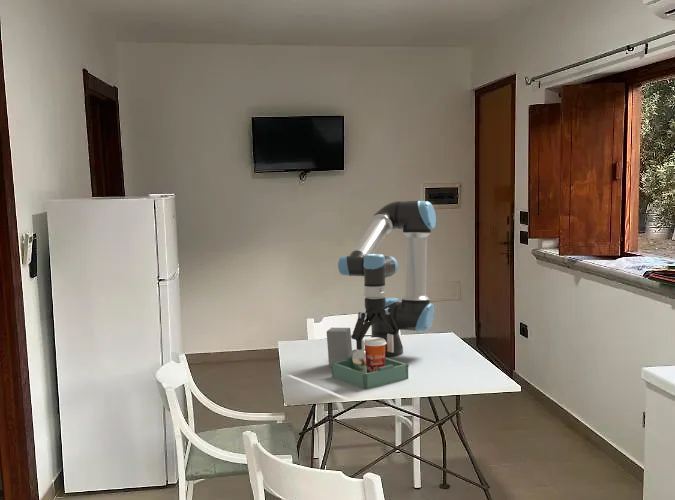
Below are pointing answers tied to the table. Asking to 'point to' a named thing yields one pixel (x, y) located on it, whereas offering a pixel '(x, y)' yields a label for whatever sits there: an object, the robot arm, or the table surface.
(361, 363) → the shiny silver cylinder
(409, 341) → the table surface
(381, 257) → the robot arm
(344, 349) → the skincare box
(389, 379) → the tote
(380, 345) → the coffee cup
